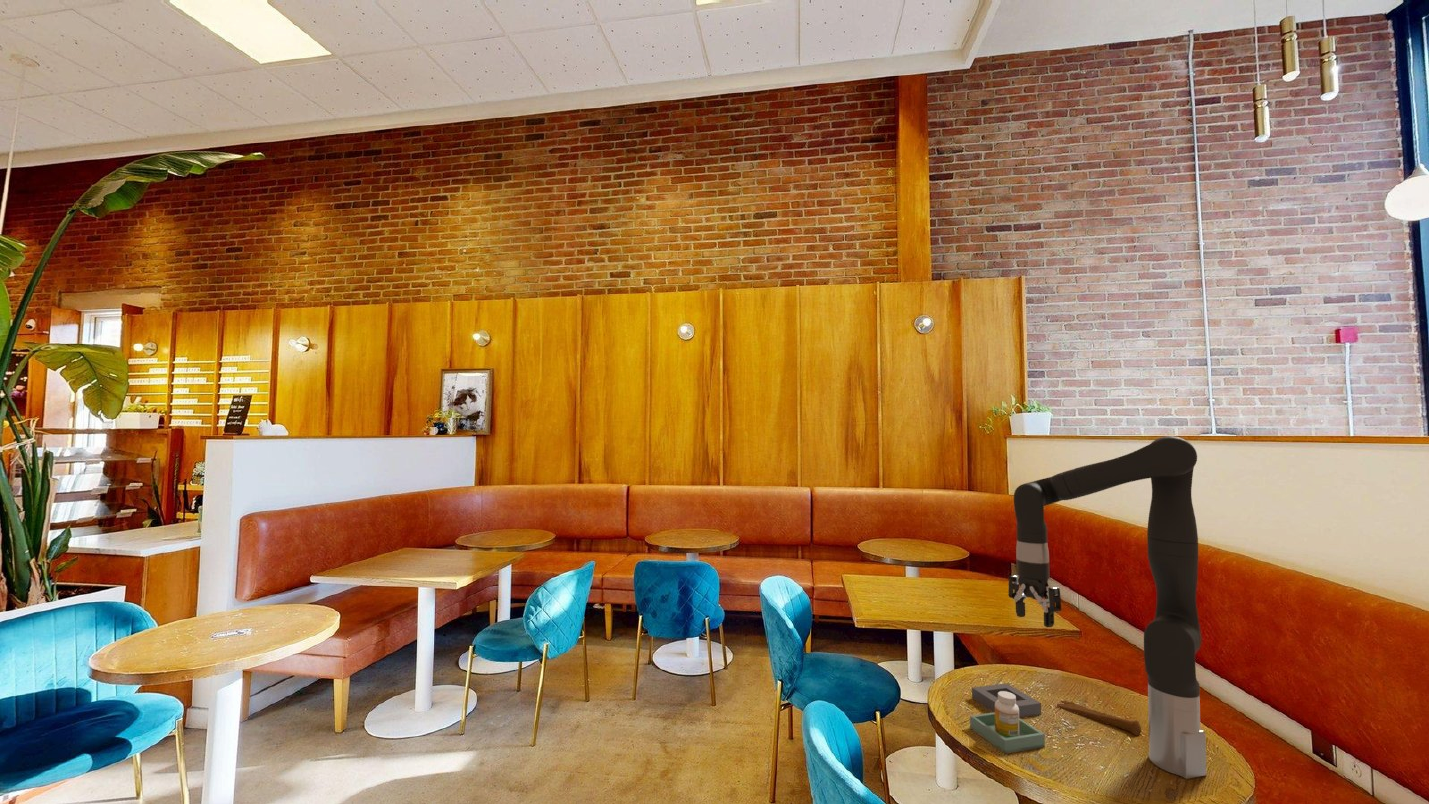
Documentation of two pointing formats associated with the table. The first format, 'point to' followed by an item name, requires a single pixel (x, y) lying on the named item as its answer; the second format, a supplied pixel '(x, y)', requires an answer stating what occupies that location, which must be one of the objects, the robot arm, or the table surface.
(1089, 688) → the table surface
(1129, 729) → the primitive tool
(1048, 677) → the table surface
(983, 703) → the socket block
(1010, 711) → the supplement bottle
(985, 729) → the tray
